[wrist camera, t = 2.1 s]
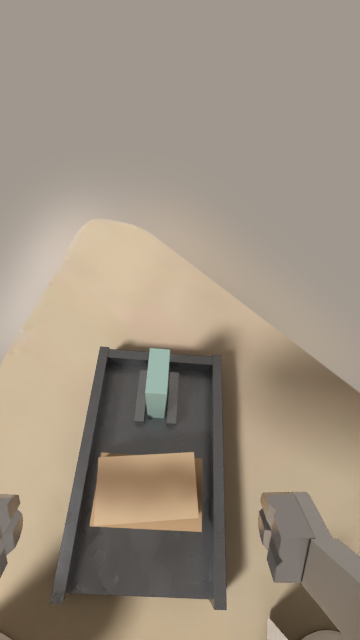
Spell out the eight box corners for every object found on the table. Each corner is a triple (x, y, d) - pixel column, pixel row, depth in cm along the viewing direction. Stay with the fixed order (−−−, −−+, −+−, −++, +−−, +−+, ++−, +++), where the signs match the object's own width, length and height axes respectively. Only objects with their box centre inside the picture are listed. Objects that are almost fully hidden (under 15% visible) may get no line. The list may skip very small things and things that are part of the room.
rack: (218, 596, 27) (226, 610, 24) (61, 590, 26) (49, 603, 23) (216, 365, 38) (221, 355, 35) (104, 357, 37) (100, 346, 34)
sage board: (163, 418, 33) (166, 394, 24) (147, 417, 33) (145, 392, 24) (166, 383, 35) (170, 349, 26) (151, 382, 35) (149, 348, 26)
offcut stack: (198, 529, 28) (205, 535, 25) (93, 523, 28) (84, 529, 25) (199, 456, 32) (205, 452, 28) (105, 450, 31) (98, 446, 28)
